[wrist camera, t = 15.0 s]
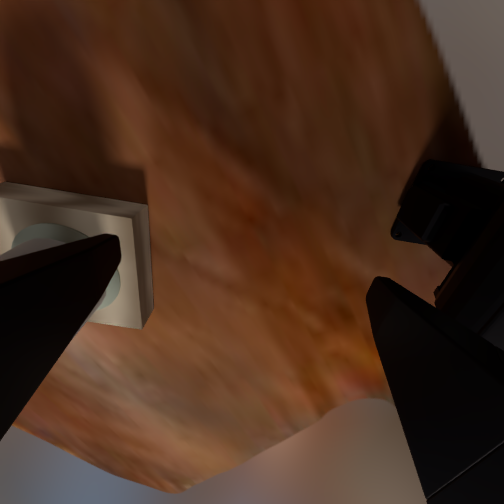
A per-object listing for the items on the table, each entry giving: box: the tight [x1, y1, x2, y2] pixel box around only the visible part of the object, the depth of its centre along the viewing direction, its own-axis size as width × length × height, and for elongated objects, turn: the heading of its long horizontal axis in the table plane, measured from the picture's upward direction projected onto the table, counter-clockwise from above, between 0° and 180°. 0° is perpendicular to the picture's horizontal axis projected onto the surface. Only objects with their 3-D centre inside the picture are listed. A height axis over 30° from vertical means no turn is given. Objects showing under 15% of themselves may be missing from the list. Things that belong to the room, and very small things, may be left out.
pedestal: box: [0, 182, 154, 329], centre depth 23 cm, size 12×12×3 cm
